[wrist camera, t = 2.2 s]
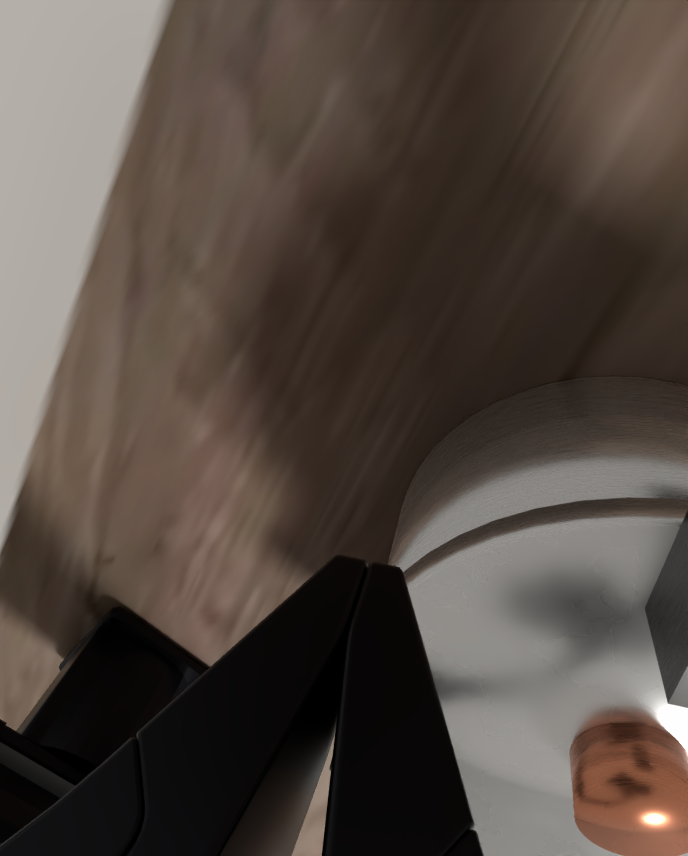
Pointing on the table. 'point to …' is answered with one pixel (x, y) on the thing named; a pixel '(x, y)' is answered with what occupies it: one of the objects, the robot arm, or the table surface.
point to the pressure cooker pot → (547, 457)
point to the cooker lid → (566, 675)
